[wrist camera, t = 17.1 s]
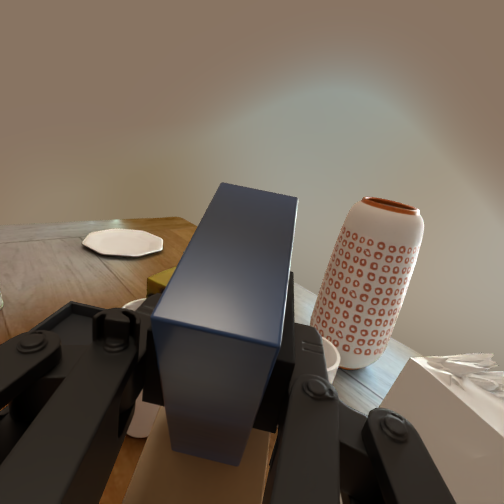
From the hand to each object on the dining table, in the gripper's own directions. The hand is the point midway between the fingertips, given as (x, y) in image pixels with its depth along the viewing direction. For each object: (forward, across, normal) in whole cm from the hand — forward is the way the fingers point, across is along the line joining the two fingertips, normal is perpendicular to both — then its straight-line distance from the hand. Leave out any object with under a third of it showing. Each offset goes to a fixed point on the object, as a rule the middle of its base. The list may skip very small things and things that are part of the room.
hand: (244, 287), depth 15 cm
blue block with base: (-1, 0, -8) cm, 8 cm away
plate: (+62, -38, -27) cm, 78 cm away
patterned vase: (+35, +18, -27) cm, 47 cm away
